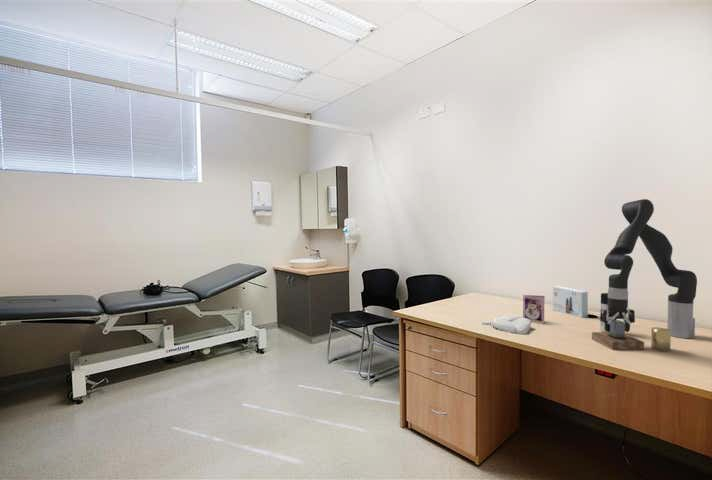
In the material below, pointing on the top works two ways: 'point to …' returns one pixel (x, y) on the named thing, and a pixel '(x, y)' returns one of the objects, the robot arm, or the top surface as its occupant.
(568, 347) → the top surface
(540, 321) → the greeting card
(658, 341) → the cylinder
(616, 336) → the square bit
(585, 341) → the top surface
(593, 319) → the top surface
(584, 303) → the skincare box
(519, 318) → the lung model
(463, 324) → the top surface
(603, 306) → the spray can
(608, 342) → the bore block
